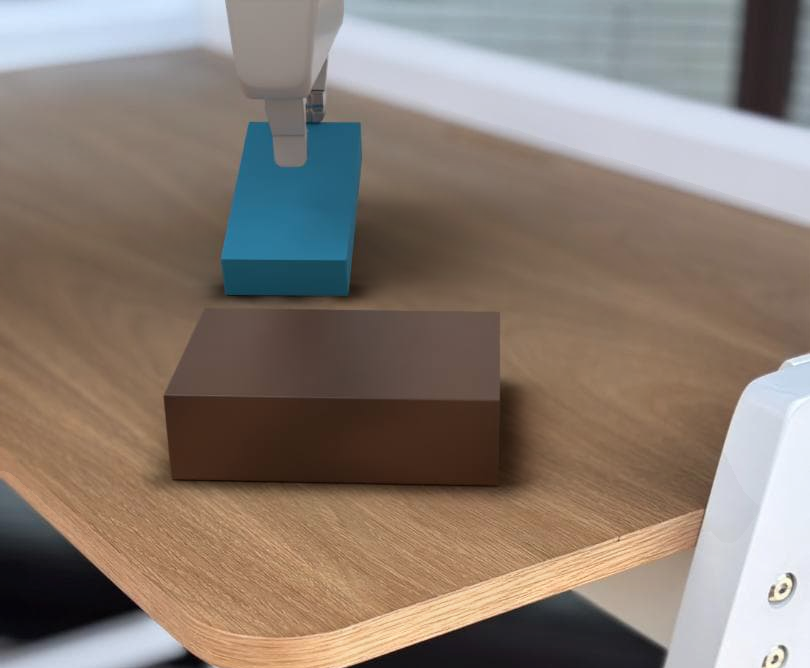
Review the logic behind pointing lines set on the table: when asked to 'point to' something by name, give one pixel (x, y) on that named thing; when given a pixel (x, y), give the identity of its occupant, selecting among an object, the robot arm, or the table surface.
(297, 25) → the robot arm
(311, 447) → the walnut block
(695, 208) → the table surface
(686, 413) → the table surface
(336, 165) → the blue rectangular block
